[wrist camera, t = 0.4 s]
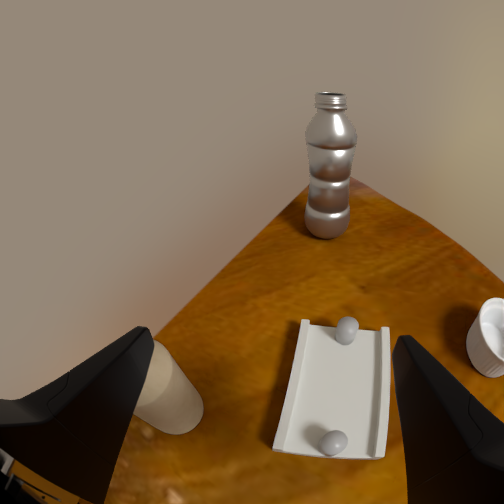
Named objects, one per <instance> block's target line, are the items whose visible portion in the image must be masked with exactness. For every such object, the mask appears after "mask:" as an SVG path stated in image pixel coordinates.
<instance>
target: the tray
mask: <svg viewBox="0 0 504 504" xmlns="http://www.w3.org/2000/svg"><path fill="white" fill-rule="evenodd" d="M309 323H310V320H305V319H302V321H301V326H300V332H299V337H298V342H297V347H296V352H295V357H294V362H293V366H292V371H291V375H290V380H289V384H288V389H287V393H286V397H285V401H284V406H283V410H282V414H281V418H280V422H279V425H278V429H277V433H276V437H275V440H274V444H273V448H272V449H273V451H277V452H283V453H290V454H297V455H305V456H314V457H324V458H338V459H380V458H382V457H384V456H385V448H386V439H387V429H388V417H389V400H390V335H389V327H382V328H381V330H380V331H369V330H358V327H359V325H358V322H357V321H356V320H355V319H354V318H352V317H343V318H342V319H340V320H339V322H338V325H337V328H335V327H326V326H317V325H309Z"/></svg>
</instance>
